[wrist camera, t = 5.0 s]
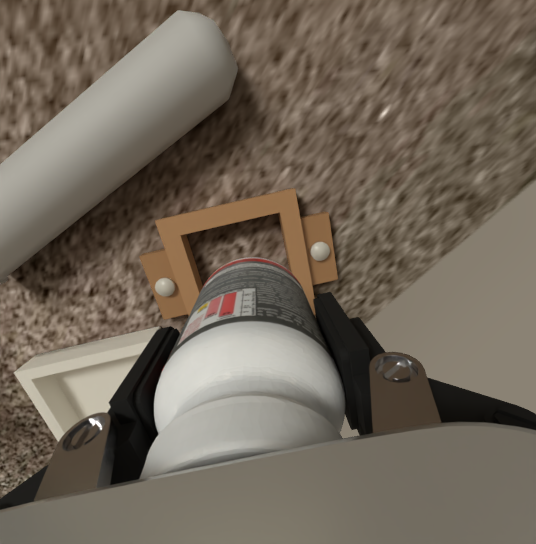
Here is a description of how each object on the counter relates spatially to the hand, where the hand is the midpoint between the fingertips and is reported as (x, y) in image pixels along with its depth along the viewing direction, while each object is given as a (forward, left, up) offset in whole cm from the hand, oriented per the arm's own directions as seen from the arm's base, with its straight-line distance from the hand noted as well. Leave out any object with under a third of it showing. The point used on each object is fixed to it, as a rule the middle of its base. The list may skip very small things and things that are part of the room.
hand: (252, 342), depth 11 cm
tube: (+9, -10, -14) cm, 19 cm away
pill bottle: (0, 0, -4) cm, 4 cm away
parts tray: (+16, +10, -13) cm, 23 cm away
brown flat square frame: (+1, 0, -13) cm, 13 cm away
